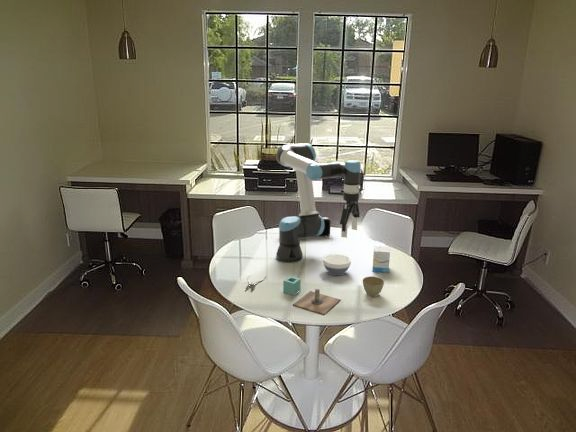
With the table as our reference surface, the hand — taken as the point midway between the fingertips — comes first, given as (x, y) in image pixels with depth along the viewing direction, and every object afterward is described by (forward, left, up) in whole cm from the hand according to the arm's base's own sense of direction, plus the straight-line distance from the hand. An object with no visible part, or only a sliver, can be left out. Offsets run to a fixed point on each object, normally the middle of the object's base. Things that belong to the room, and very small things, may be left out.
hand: (349, 233), depth 227 cm
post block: (+1, -34, -24) cm, 42 cm away
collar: (-15, -30, -24) cm, 41 cm away
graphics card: (-51, +43, -24) cm, 71 cm away
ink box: (+11, +19, -24) cm, 32 cm away
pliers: (-35, -32, -25) cm, 53 cm away
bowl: (-7, +2, -24) cm, 25 cm away
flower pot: (+19, -12, -24) cm, 33 cm away
